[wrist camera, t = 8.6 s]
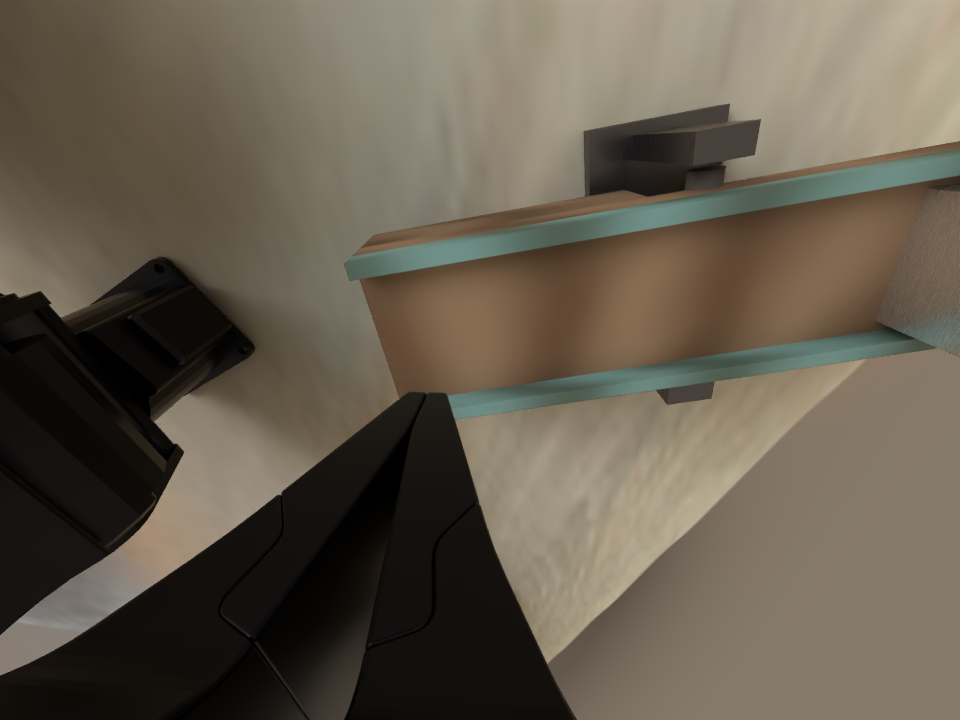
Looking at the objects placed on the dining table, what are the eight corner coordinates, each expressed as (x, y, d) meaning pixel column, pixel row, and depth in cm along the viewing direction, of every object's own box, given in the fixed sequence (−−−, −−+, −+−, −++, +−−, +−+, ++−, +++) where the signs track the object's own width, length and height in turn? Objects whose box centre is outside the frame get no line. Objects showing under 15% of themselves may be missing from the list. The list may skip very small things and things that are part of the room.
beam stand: (589, 357, 23) (623, 419, 18) (583, 131, 17) (633, 125, 12) (688, 341, 23) (753, 400, 17) (719, 105, 17) (831, 87, 11)
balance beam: (417, 379, 20) (404, 437, 16) (370, 220, 16) (337, 246, 12) (918, 301, 19) (1041, 344, 15) (1007, 104, 15) (1211, 88, 11)
